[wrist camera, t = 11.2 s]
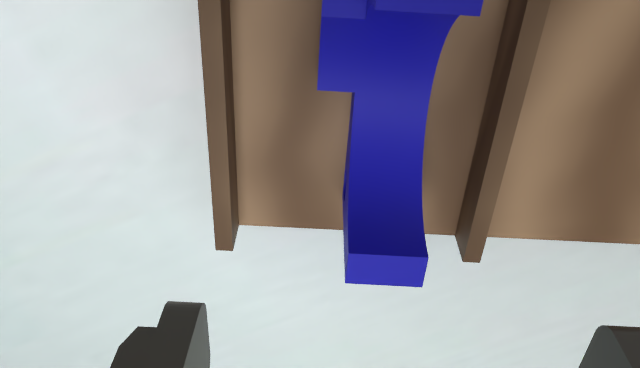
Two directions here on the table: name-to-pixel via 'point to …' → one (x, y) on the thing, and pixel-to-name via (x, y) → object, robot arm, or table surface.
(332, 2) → the blue cradle stand
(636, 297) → the table surface
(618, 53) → the rack
